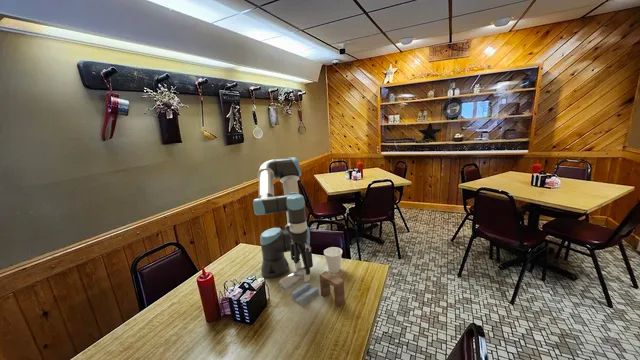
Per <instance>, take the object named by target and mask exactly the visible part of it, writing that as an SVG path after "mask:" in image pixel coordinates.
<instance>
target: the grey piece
mask: <svg viewBox="0 0 640 360" xmlns="http://www.w3.org/2000/svg"><path fill="white" fill-rule="evenodd" d="M303 268H304V266H301V268H300V269H299V270H297V271H296V270H295V271H293V272H292V273H290V274H288V275H286V276H285V277H282V278H281V279H280V280H279V282H278V283H279V286H280V288H281V290H282V291H283V292H286V291H288V290H289V289H291V288H293V287H295V286H296V285H298V284H300V283H302V281H305V280H304V270H303Z"/></svg>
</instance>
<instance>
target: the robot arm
mask: <svg viewBox="0 0 640 360" xmlns="http://www.w3.org/2000/svg"><path fill="white" fill-rule="evenodd" d="M301 176H302V170H301V165H300V162H299V160H298V158H297V157H296V156H295V157H290V156H289V157H283V158H282V157H281V158H271V159H268V160H266V161H265V162H263V163H262V164H261V165H260V166H259V167H258V170H257V173H256V177H257V180H258V198H255V199H253V202H252V206H253V211H254V212H253V213H254V214H255V215H256V216H262V215H263V216H265V215H271V214H276V213H278V214H279V213H284V212H285V213H286V215H285V216H286V221H287V223H286V225H285V226H284V227H285V229H284V230H282V228H281V227H272V228H268V229H266V230H264V231H263V232H262V233H261V234H260V237H259V239H260V240H259V241H260V242H259V243H260V247H261V248H260V249H261V255H262V263H261V268H260V271H261V272H260V273H261V275H262V276H263V277H264V278H265V279H266V278H267V279H277V278H280V277H282V276H285V275H286V274H288V272H289V270H290V266H289V265H290V264H289V262H288V259H287V258H286V256H285V253H289V252H290V259H291V261H293V263H294V266H295V271H297V270H299V269H300V268H302V263H303V267H304V268H303V270H304V280H303V281H304V282H305V283H307V282H308V281H310V280H311V268H313V266H314V262H313V253H312V250H313V247H312V246H311V244H310V243H311V241H310V239H311V235H310V234H311V233H310V227H309V226H308V224H307V218H306V217H307V216H306V215H307V214H306V206H305V205H306V201H305V197H304V196H303V195H302V194H300V192H299V185H298V181H299V180H300V177H301ZM275 179H279V182H280V183H282V189H283V195H276V196H275V189H274V188H275V187H274V186H275V185H274V180H275ZM300 256H301V257H300ZM301 259H302V261H301Z"/></svg>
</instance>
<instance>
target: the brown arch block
mask: <svg viewBox="0 0 640 360" xmlns="http://www.w3.org/2000/svg"><path fill="white" fill-rule="evenodd" d="M344 282H345V281H344V280H343V279H342V278H340V277H338V276H336V275H334V273H333V274H332V273H331V272H330V271H327V270H325V271H324V272H322V273H320V274H319V283H320V284H319V287H320V296H321V297H322V298H324V299H325V298H327V297H328V296H330V295H332V293H331V286H332V287H333V294H334V295H333V296H334V305H335V306H336V307H338V308H340V307H341V306H343V305H344V304H345V303H346V299H345V284H344Z"/></svg>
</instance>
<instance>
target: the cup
mask: <svg viewBox="0 0 640 360" xmlns="http://www.w3.org/2000/svg"><path fill="white" fill-rule="evenodd" d="M323 255H324V257H325V261H326V265H327V268H328V272H329V273H331V274H332V273H333V274H336V273H339V272H340V270H341V264H342V255H343V249H342V248H340V247H336V246H335V247H334V246H331V247H328V248H327V247H326V249H324V250H323Z"/></svg>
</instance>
